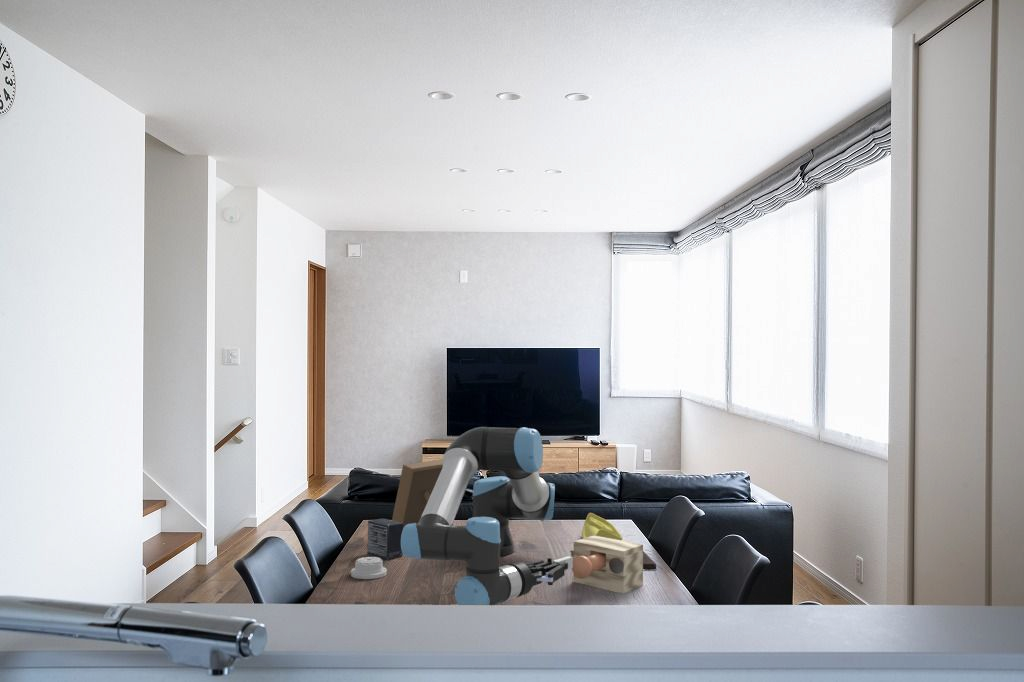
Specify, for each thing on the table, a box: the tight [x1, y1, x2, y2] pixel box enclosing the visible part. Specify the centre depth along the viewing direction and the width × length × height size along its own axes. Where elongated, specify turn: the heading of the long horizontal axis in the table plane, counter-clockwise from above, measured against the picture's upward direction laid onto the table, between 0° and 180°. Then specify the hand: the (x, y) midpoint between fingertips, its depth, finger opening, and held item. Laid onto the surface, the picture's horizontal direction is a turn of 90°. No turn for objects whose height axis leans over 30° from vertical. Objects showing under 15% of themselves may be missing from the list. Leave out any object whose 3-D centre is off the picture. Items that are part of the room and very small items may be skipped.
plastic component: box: [581, 512, 624, 541], centre depth 253 cm, size 20×7×10 cm
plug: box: [571, 552, 606, 579], centre depth 195 cm, size 12×6×6 cm, turn 140°
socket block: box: [572, 535, 644, 595], centre depth 201 cm, size 11×16×11 cm
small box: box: [366, 517, 404, 560], centre depth 228 cm, size 11×6×10 cm, turn 47°
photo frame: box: [391, 458, 454, 528], centre depth 259 cm, size 15×22×25 cm
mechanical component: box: [350, 556, 388, 580], centre depth 207 cm, size 10×4×10 cm
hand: (570, 562), depth 187 cm, fingers closed
